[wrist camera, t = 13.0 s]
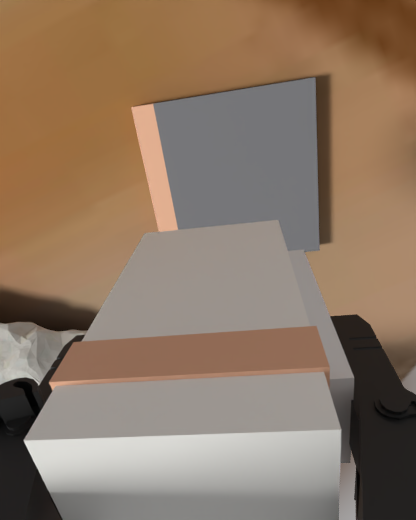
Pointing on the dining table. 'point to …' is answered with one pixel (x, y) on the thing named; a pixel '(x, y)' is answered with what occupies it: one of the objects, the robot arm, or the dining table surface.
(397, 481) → the robot arm
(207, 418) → the cartridge
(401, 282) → the dining table surface
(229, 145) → the mat
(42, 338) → the rock
